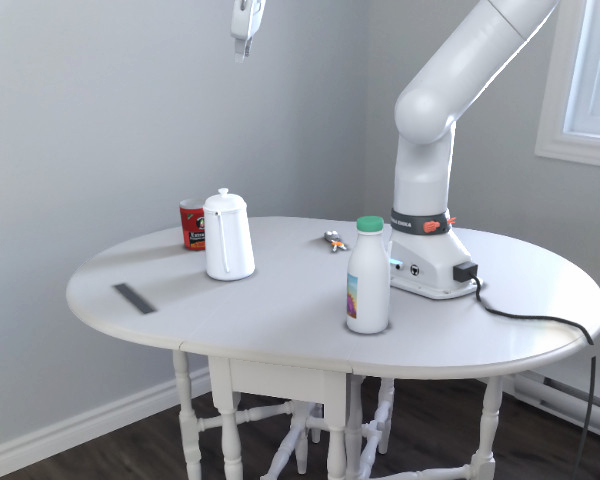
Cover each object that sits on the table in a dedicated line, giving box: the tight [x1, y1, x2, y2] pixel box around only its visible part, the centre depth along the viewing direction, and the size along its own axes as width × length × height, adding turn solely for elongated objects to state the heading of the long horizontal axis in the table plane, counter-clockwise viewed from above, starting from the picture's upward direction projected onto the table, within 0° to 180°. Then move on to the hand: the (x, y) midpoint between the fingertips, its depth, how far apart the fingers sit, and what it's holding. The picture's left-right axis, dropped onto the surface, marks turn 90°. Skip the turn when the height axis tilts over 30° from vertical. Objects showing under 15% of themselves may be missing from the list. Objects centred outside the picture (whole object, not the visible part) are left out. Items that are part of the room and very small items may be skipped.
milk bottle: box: [346, 215, 391, 335], centre depth 114 cm, size 8×8×20 cm
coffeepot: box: [203, 187, 256, 282], centre depth 139 cm, size 11×25×19 cm, turn 179°
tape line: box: [114, 283, 155, 314], centre depth 134 cm, size 18×2×1 cm, turn 33°
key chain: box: [323, 230, 347, 253], centre depth 160 cm, size 13×4×2 cm, turn 10°
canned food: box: [178, 197, 207, 251], centre depth 159 cm, size 8×8×11 cm
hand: (241, 59), depth 130 cm, fingers open, 8 cm apart
